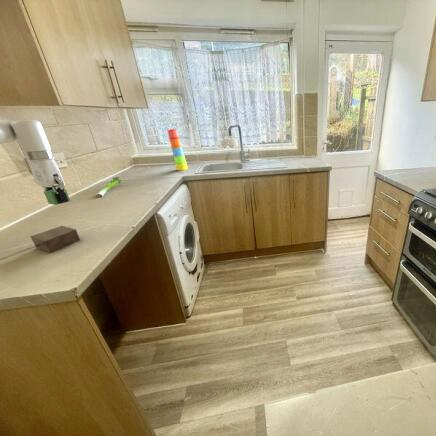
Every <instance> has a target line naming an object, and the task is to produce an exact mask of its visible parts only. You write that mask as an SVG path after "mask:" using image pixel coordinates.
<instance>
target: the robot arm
mask: <svg viewBox="0 0 436 436" xmlns="http://www.w3.org/2000/svg"><path fill="white" fill-rule="evenodd" d="M14 142H15V143H16V142H18V144H19V146H20V148H21V150H22V153H23V154H24V157H25V160H26V161H27V162H28V165H29V168H30V171H31V173H32V176H33V179H34V181H35V183H36V185H37V186H40V187H42V188H43V189H44V191H48V190H54V192H55V193H56V194H55V196H56V199H57V201H58V203H59V204H58V205H61V203H62V204H64V203H69V202H68V198H67V196H66V193H65V190H64V189H65V186H66V185H65V180H64V177H63V176H62V173H61V171H60V168H59V166H58V165H57V163H56V161H55V158H56V157H55V154H54V152H53V150H52V147H51V145H50V143H49V140H48V138H47V135H46V132H45V129H44V127H43V125H42V123H41V122H40V121H39V120H37V119H15V120H11V119H0V144H8V143H14Z"/></svg>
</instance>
